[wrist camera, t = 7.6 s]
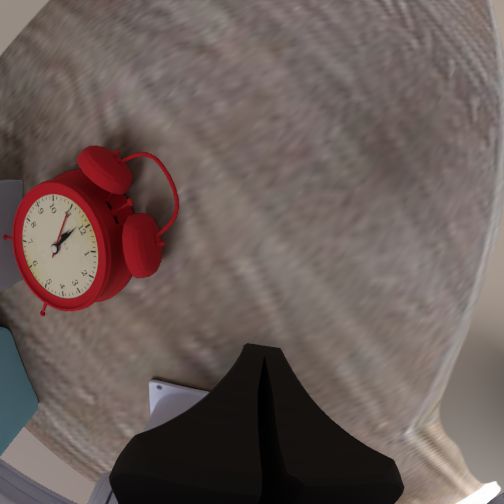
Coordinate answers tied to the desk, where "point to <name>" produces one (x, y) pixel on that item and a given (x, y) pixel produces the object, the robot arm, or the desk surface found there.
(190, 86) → the desk surface
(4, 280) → the book row
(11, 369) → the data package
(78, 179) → the alarm clock
